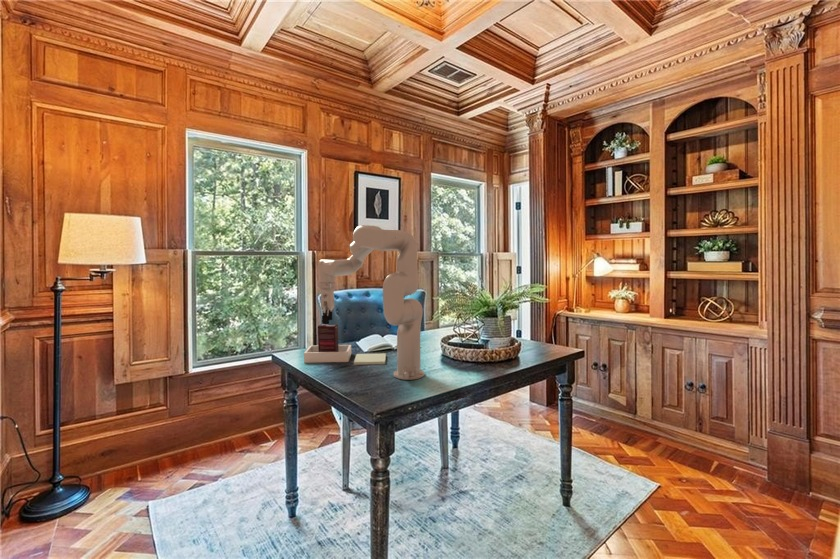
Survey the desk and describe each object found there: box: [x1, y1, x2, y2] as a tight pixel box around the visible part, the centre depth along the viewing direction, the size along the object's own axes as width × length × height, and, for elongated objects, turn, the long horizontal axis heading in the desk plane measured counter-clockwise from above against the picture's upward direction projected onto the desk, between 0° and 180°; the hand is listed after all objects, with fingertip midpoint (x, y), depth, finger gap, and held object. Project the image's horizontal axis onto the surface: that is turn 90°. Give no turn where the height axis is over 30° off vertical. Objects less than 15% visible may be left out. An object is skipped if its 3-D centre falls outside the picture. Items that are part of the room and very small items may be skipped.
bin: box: [303, 344, 352, 364], centre depth 193 cm, size 14×20×4 cm
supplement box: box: [317, 323, 339, 352], centre depth 193 cm, size 9×5×16 cm, turn 84°
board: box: [353, 352, 387, 366], centre depth 190 cm, size 14×14×1 cm
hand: (327, 321), depth 192 cm, fingers open, 9 cm apart
